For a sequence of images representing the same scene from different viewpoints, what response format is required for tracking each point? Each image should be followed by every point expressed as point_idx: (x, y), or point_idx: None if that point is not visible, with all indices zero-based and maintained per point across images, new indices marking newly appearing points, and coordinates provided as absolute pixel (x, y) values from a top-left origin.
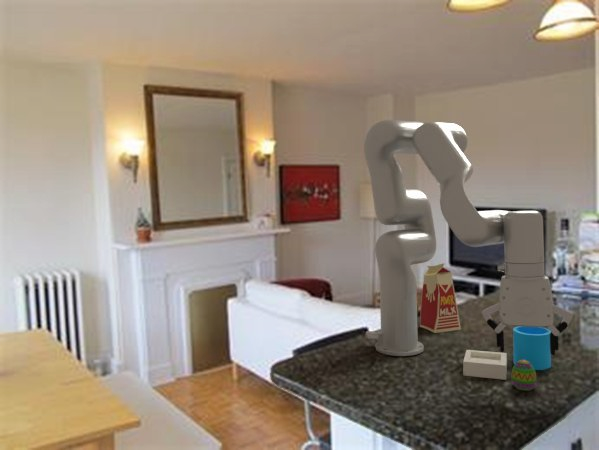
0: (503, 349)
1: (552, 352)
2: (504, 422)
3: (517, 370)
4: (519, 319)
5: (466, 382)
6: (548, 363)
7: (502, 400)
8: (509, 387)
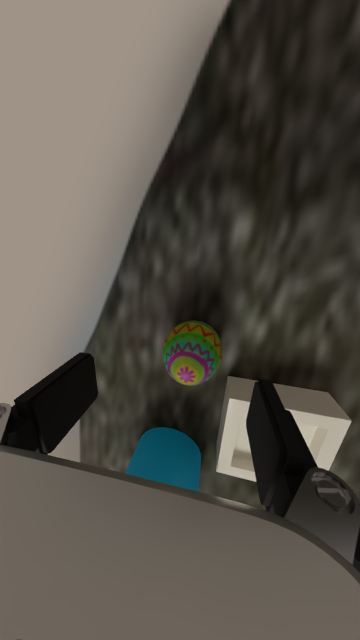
0: (259, 385)
1: (83, 356)
2: (276, 78)
3: (207, 342)
4: (141, 596)
5: (329, 351)
6: (139, 442)
7: (254, 251)
8: (226, 335)
